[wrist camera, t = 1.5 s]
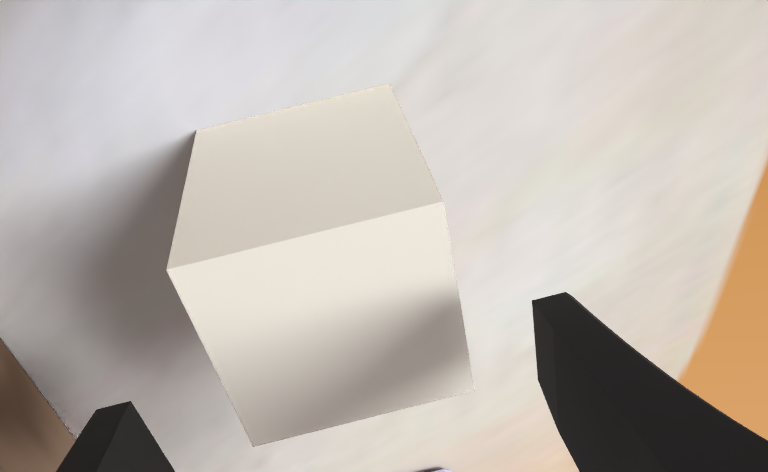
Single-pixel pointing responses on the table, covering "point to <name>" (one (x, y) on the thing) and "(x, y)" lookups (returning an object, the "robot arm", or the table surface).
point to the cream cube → (320, 266)
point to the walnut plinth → (27, 423)
